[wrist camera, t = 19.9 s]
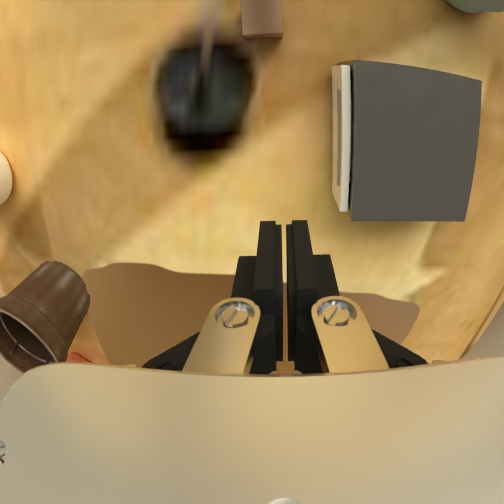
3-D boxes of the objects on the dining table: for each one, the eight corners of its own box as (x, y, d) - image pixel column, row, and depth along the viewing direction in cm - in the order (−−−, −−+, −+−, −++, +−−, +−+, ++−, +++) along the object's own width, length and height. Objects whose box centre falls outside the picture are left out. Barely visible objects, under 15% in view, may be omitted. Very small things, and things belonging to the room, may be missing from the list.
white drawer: (330, 192, 37) (338, 211, 32) (330, 66, 29) (339, 64, 25) (430, 194, 36) (449, 212, 31) (439, 78, 28) (463, 81, 23)
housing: (337, 192, 38) (351, 220, 32) (338, 62, 30) (354, 60, 23) (436, 194, 37) (464, 221, 30) (446, 75, 29) (481, 80, 22)
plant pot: (34, 232, 45) (-23, 289, 31) (110, 279, 48) (65, 352, 35) (28, 292, 53) (-14, 347, 39) (92, 332, 56) (58, 396, 43)
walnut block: (246, 39, 29) (242, 35, 26) (243, 7, 27) (240, 0, 24) (282, 37, 29) (283, 32, 26) (280, 5, 27) (280, -2, 24)
